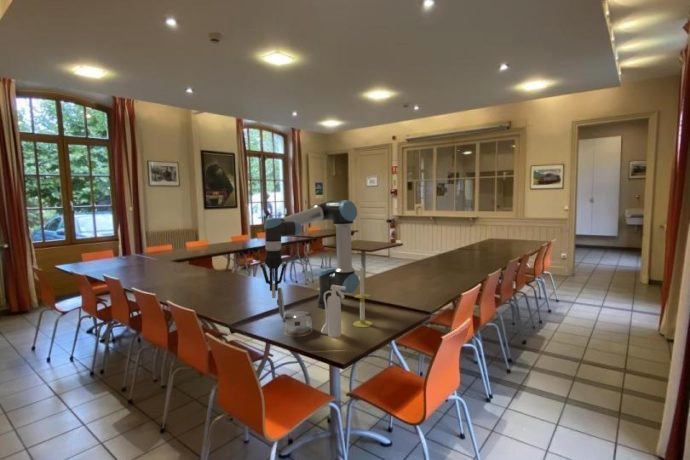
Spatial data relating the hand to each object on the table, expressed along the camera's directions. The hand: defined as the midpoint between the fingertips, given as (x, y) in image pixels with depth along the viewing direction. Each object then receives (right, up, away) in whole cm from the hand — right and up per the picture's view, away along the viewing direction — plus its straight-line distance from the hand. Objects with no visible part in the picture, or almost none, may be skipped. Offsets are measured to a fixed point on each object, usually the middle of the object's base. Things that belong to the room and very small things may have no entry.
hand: (273, 297), depth 177 cm
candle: (+44, -17, +12) cm, 49 cm away
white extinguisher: (+29, -18, -3) cm, 35 cm away
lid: (+4, -3, +1) cm, 5 cm away
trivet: (+12, -18, +2) cm, 21 cm away
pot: (+12, -17, +2) cm, 21 cm away
